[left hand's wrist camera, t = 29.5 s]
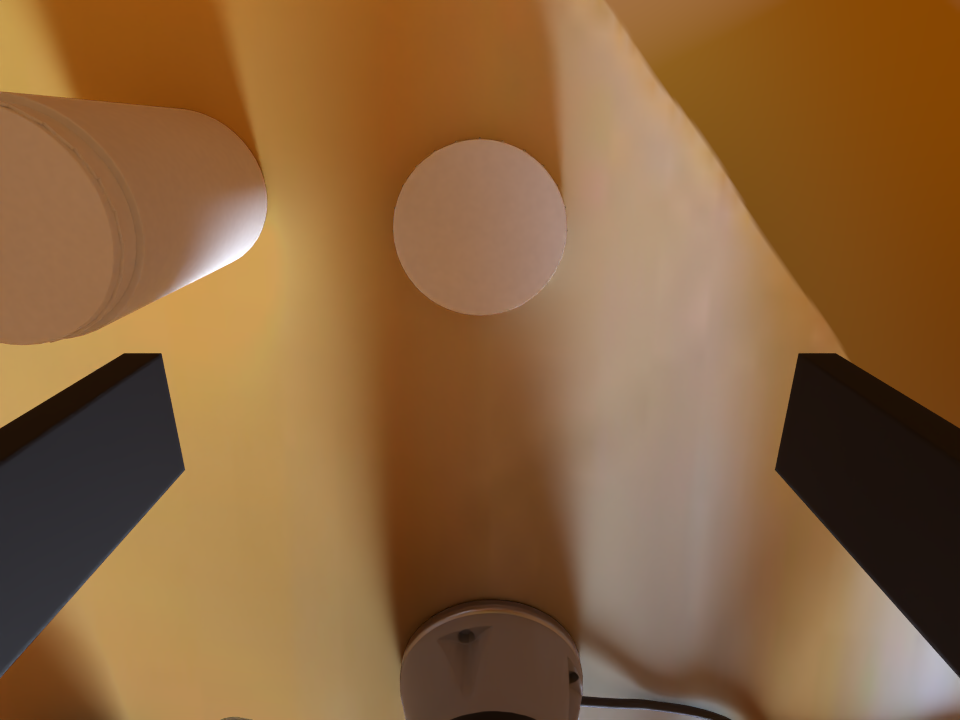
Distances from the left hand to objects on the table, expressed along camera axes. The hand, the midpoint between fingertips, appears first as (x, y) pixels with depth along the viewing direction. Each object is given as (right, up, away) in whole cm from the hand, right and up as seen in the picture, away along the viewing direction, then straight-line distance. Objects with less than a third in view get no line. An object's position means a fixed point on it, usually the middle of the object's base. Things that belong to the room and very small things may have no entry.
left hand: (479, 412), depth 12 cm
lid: (0, +9, +24) cm, 25 cm away
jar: (-18, +12, +24) cm, 32 cm away
